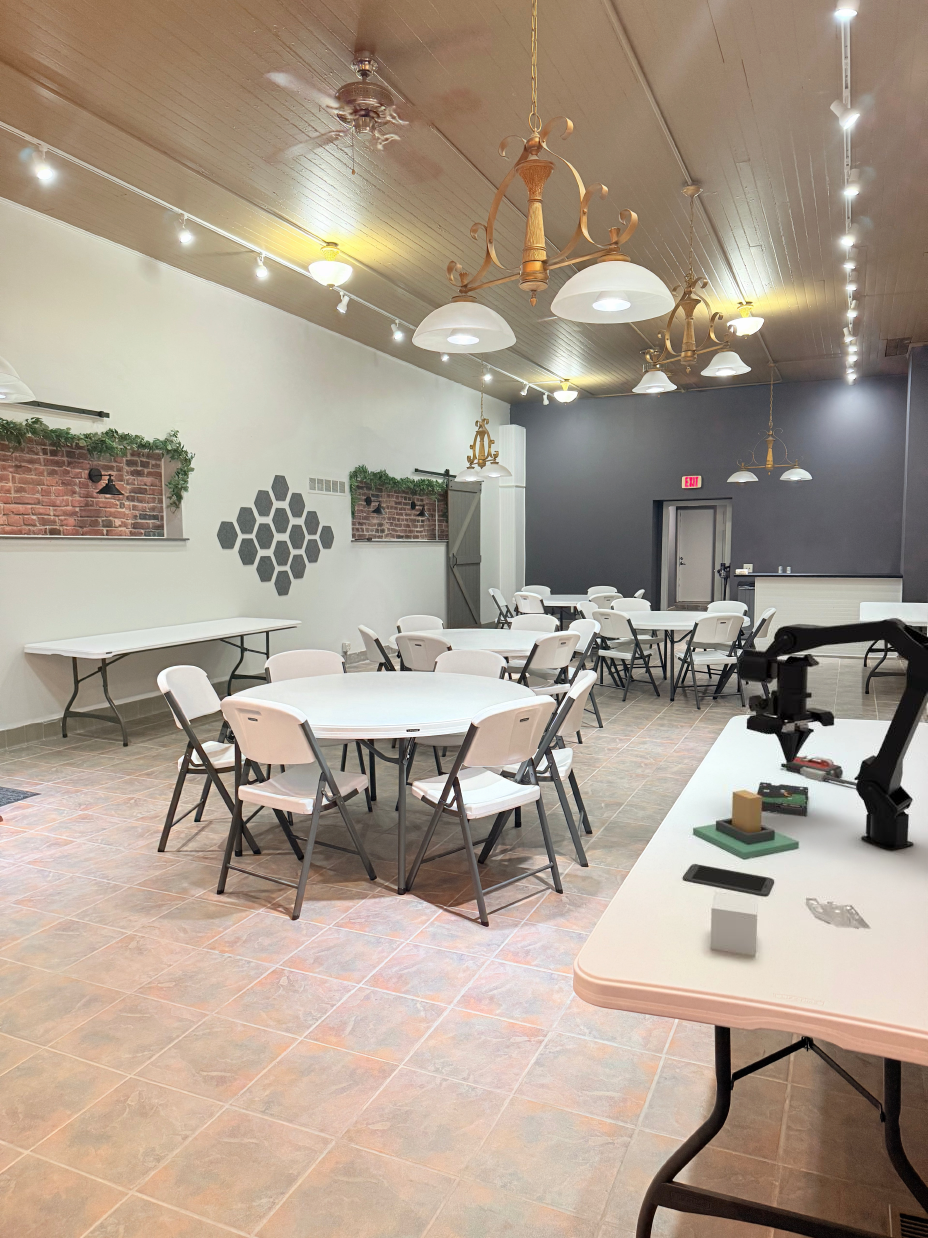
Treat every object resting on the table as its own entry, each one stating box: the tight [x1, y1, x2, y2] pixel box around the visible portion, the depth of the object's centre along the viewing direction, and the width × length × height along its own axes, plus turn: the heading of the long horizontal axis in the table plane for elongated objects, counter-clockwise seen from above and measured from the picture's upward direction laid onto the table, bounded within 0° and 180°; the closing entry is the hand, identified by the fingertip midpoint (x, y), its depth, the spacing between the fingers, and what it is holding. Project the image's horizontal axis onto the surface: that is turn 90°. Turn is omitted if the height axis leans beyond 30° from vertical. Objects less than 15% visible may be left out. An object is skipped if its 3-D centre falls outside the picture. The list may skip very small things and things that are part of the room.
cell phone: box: [682, 863, 775, 898], centre depth 137 cm, size 7×14×1 cm, turn 60°
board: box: [692, 817, 800, 860], centre depth 155 cm, size 14×13×3 cm
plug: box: [731, 789, 763, 833], centre depth 155 cm, size 5×3×8 cm, turn 23°
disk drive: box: [756, 781, 809, 817], centre depth 177 cm, size 10×3×15 cm
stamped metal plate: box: [805, 897, 871, 930], centre depth 124 cm, size 8×7×2 cm
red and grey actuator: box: [780, 755, 857, 787], centre depth 197 cm, size 9×4×20 cm
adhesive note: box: [710, 890, 759, 957], centre depth 116 cm, size 6×6×6 cm
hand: (789, 762), depth 166 cm, fingers closed
